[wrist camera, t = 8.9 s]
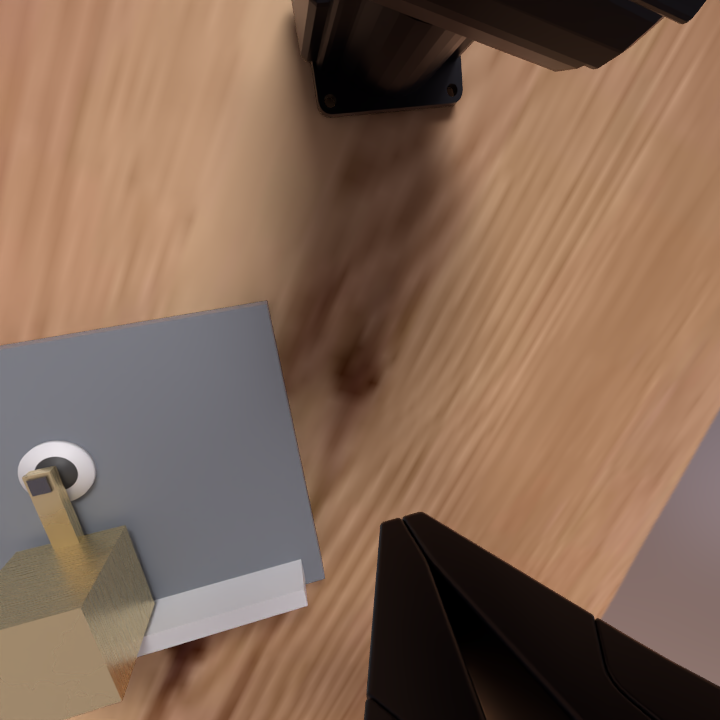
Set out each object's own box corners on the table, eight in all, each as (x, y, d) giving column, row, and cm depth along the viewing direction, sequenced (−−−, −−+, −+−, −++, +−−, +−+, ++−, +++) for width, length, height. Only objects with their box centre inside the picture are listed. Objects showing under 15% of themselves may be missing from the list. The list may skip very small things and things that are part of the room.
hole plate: (266, 300, 19) (264, 322, 12) (321, 558, 23) (340, 670, 17) (-353, 405, 15) (-800, 512, 9) (-150, 692, 19) (-352, 901, 13)
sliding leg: (99, 455, 17) (42, 522, 12) (154, 603, 19) (122, 701, 15) (-18, 481, 16) (-120, 560, 12) (54, 632, 18) (-11, 743, 14)
